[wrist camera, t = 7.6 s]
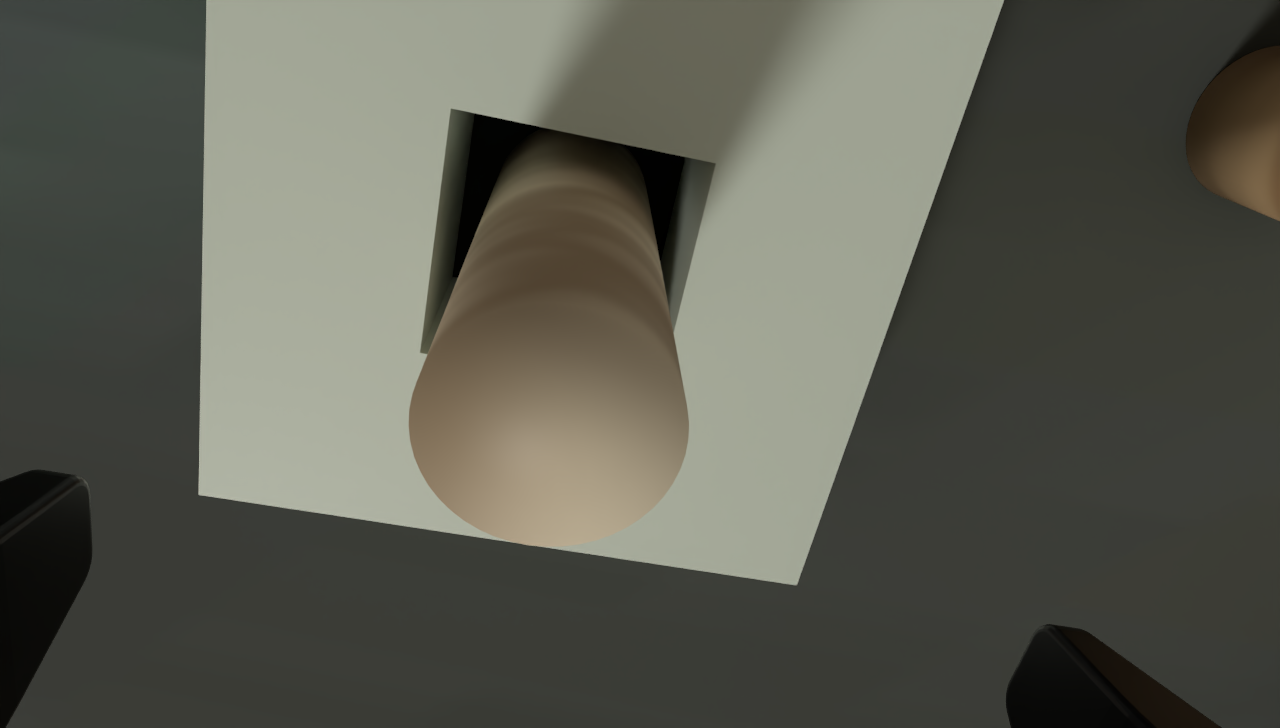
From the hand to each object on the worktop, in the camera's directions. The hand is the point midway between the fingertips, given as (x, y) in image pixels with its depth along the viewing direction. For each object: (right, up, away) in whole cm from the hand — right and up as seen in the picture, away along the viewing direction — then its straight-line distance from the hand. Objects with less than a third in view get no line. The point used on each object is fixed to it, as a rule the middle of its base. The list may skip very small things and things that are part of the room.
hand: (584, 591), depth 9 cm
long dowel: (-1, +6, +11) cm, 12 cm away
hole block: (-1, +6, +11) cm, 12 cm away
